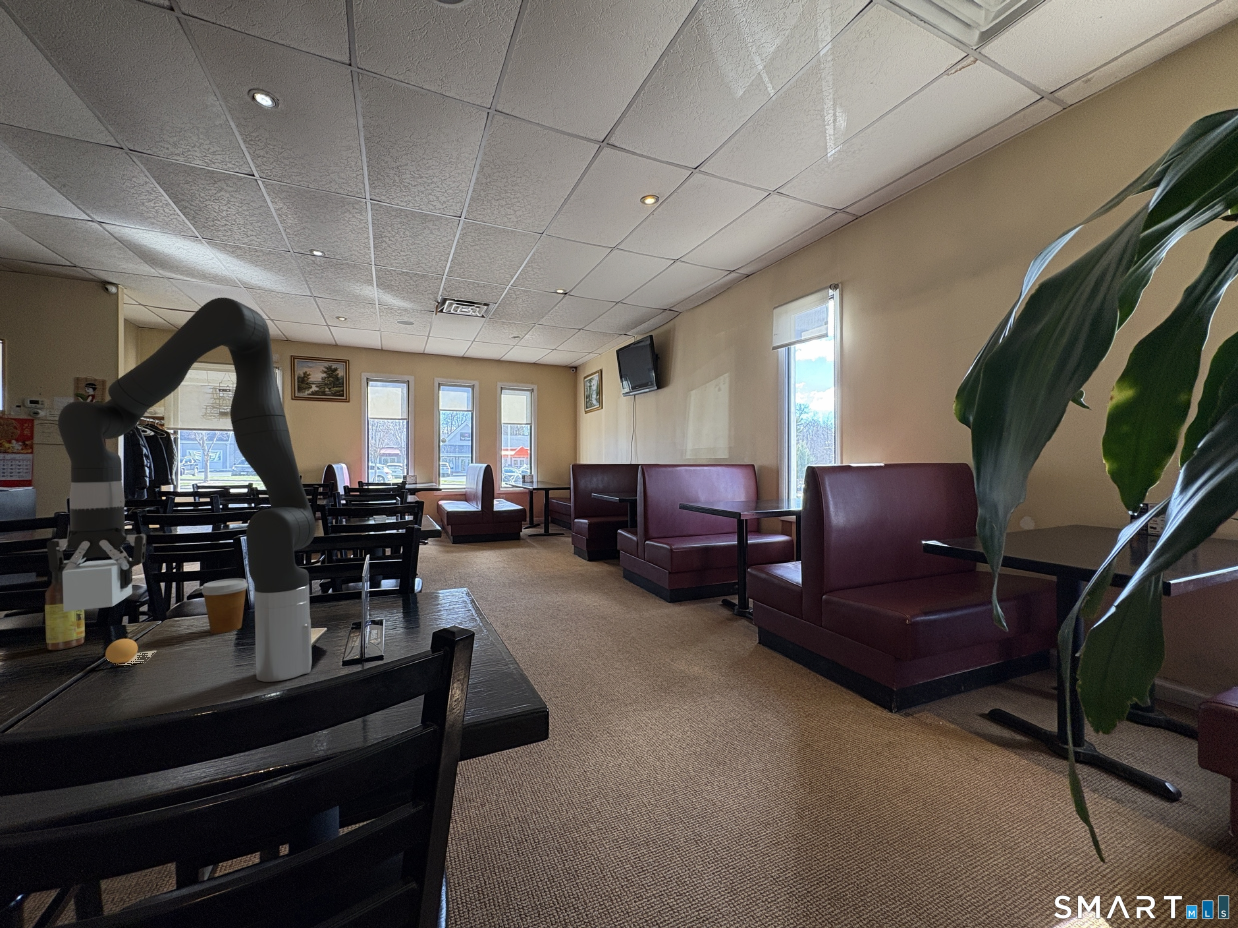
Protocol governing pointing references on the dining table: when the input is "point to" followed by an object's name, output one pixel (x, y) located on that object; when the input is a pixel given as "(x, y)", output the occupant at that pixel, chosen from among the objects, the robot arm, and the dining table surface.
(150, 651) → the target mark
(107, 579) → the white angular block
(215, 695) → the dining table surface
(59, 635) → the sauce bottle
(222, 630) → the disposable coffee cup
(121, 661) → the brown egg
